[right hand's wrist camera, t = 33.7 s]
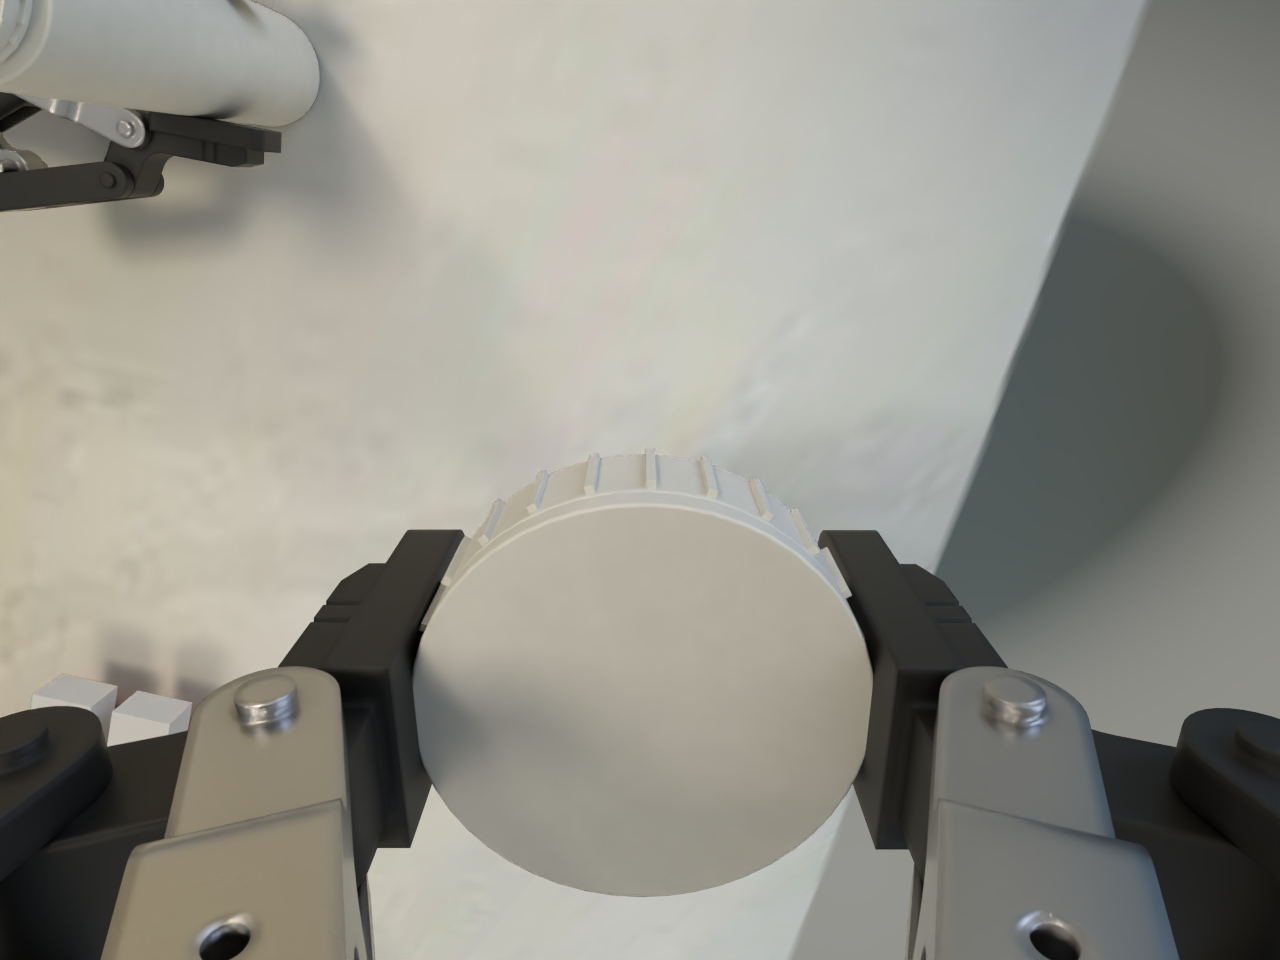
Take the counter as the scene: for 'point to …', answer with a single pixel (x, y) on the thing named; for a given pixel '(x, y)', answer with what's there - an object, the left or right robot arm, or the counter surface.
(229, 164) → the left robot arm
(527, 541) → the lid
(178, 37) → the white cylindrical bottle
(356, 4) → the counter surface
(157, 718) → the toy
